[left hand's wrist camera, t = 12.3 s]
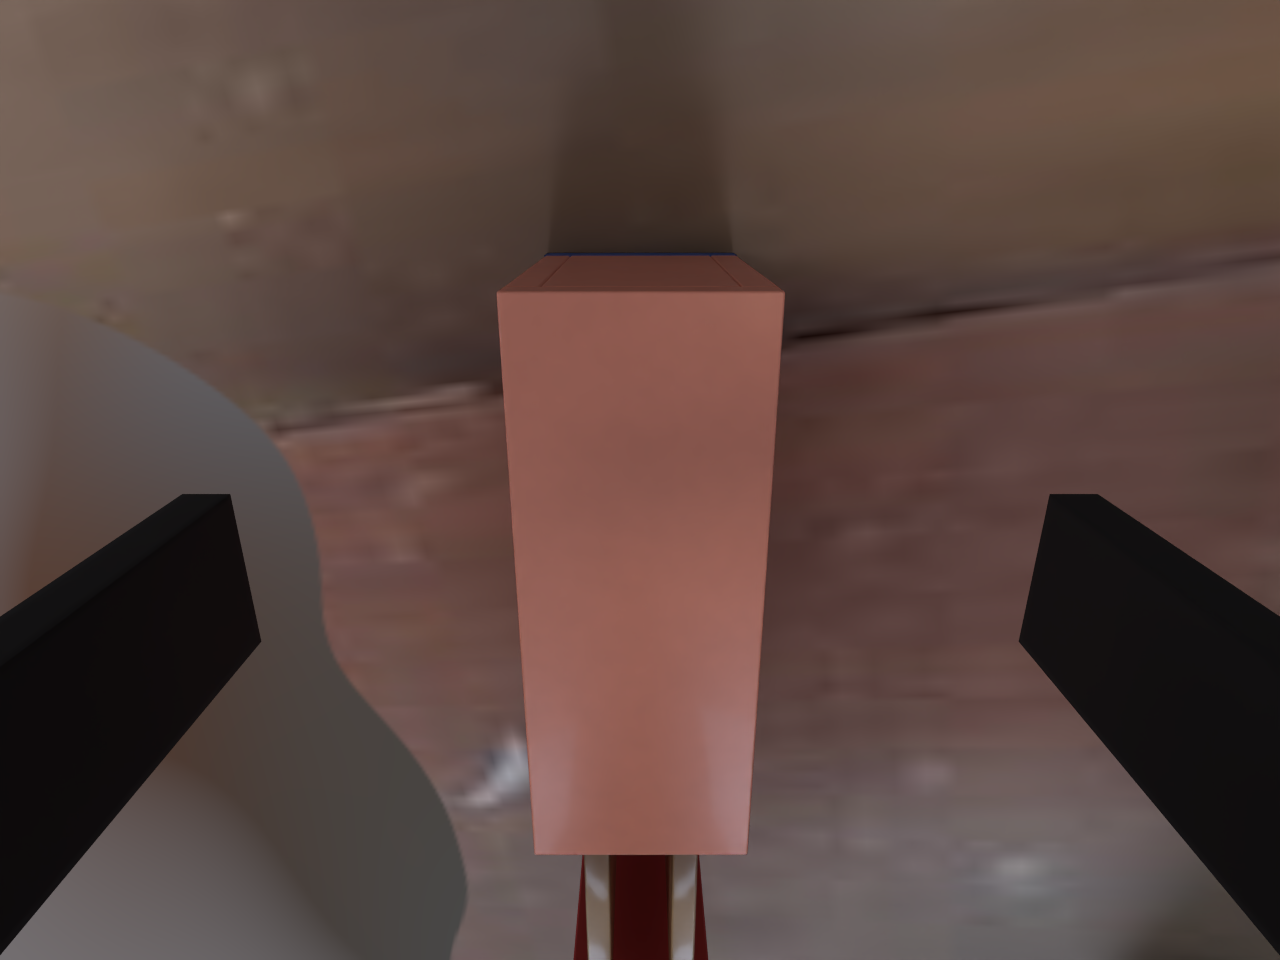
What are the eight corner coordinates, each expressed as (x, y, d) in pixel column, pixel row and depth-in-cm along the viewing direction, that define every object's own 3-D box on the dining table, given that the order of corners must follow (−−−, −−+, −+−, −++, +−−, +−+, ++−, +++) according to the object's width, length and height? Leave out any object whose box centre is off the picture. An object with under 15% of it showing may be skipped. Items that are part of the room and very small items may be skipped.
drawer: (694, 940, 36) (708, 1138, 29) (587, 940, 36) (573, 1138, 29) (707, 560, 29) (731, 691, 21) (573, 560, 29) (550, 691, 21)
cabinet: (716, 660, 32) (748, 856, 22) (564, 660, 32) (533, 856, 22) (733, 252, 26) (786, 290, 16) (547, 253, 26) (495, 290, 16)
